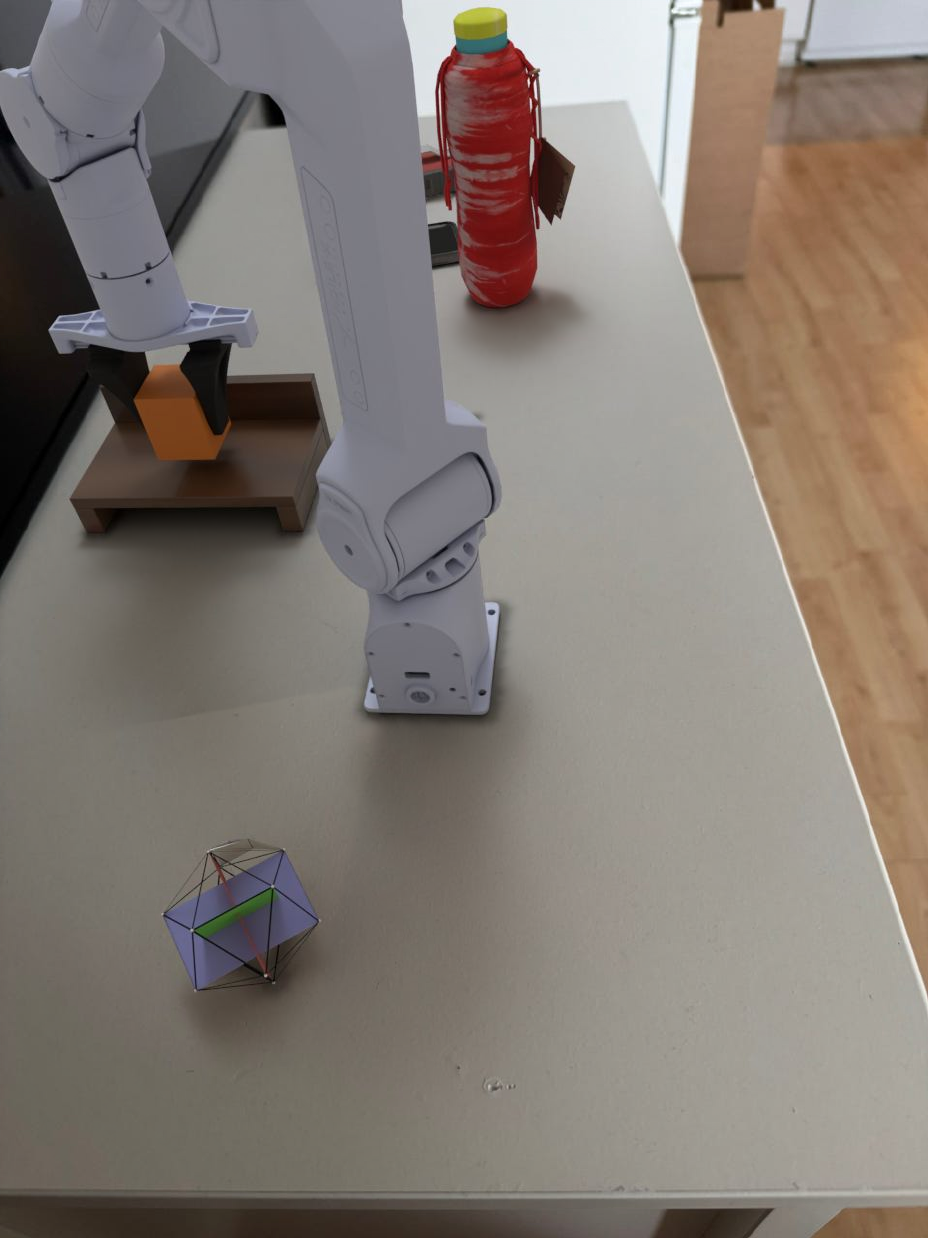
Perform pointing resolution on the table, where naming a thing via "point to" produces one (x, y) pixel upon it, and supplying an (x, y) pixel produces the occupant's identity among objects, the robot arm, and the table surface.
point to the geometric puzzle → (240, 915)
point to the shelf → (217, 457)
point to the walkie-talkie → (434, 171)
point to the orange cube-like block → (175, 417)
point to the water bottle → (496, 158)
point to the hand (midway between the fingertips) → (190, 428)
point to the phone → (443, 243)
